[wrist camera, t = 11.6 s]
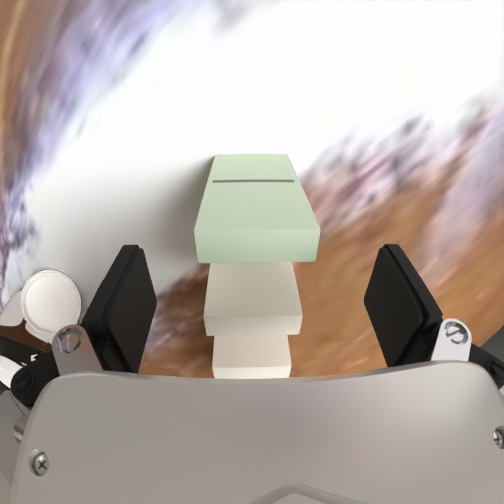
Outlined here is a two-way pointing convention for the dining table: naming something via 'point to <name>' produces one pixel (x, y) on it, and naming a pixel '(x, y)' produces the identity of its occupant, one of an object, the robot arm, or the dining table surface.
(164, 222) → the dining table surface
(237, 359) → the domino
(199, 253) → the green domino
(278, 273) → the domino
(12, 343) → the spread jar
